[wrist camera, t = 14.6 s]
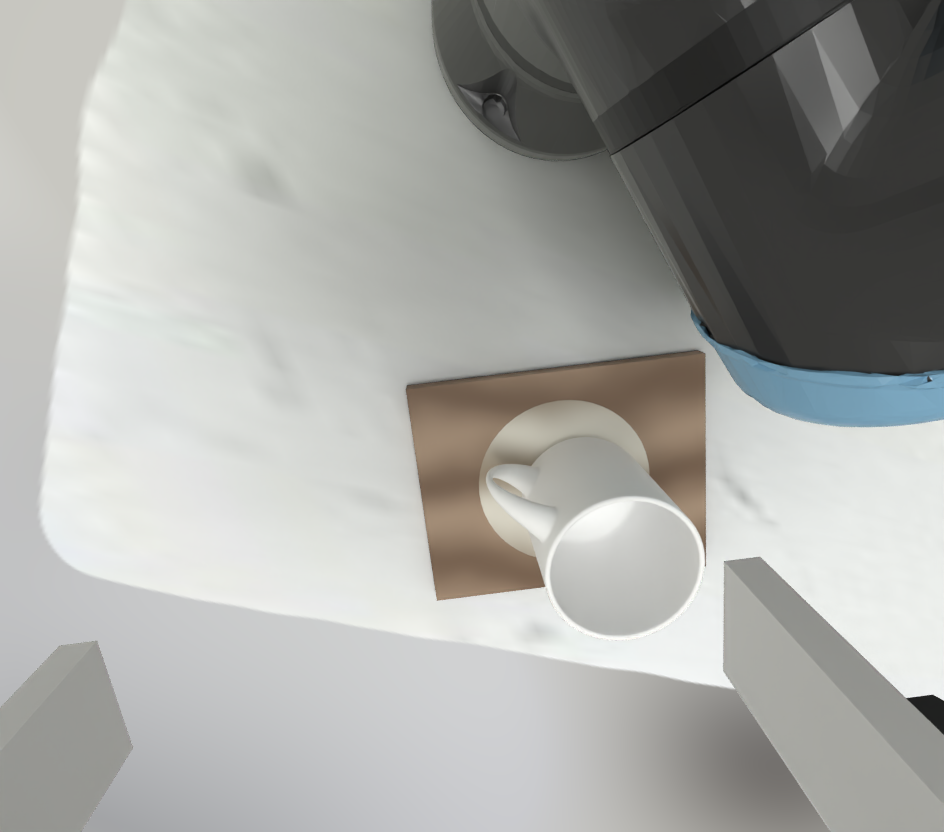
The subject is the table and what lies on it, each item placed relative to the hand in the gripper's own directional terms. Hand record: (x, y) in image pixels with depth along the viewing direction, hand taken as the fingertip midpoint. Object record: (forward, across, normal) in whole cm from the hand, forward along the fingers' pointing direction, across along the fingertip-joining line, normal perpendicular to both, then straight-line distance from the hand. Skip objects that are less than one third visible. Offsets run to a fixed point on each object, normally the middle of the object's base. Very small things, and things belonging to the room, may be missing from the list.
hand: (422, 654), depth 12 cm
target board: (+29, +8, -8) cm, 31 cm away
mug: (+28, +8, -8) cm, 30 cm away
